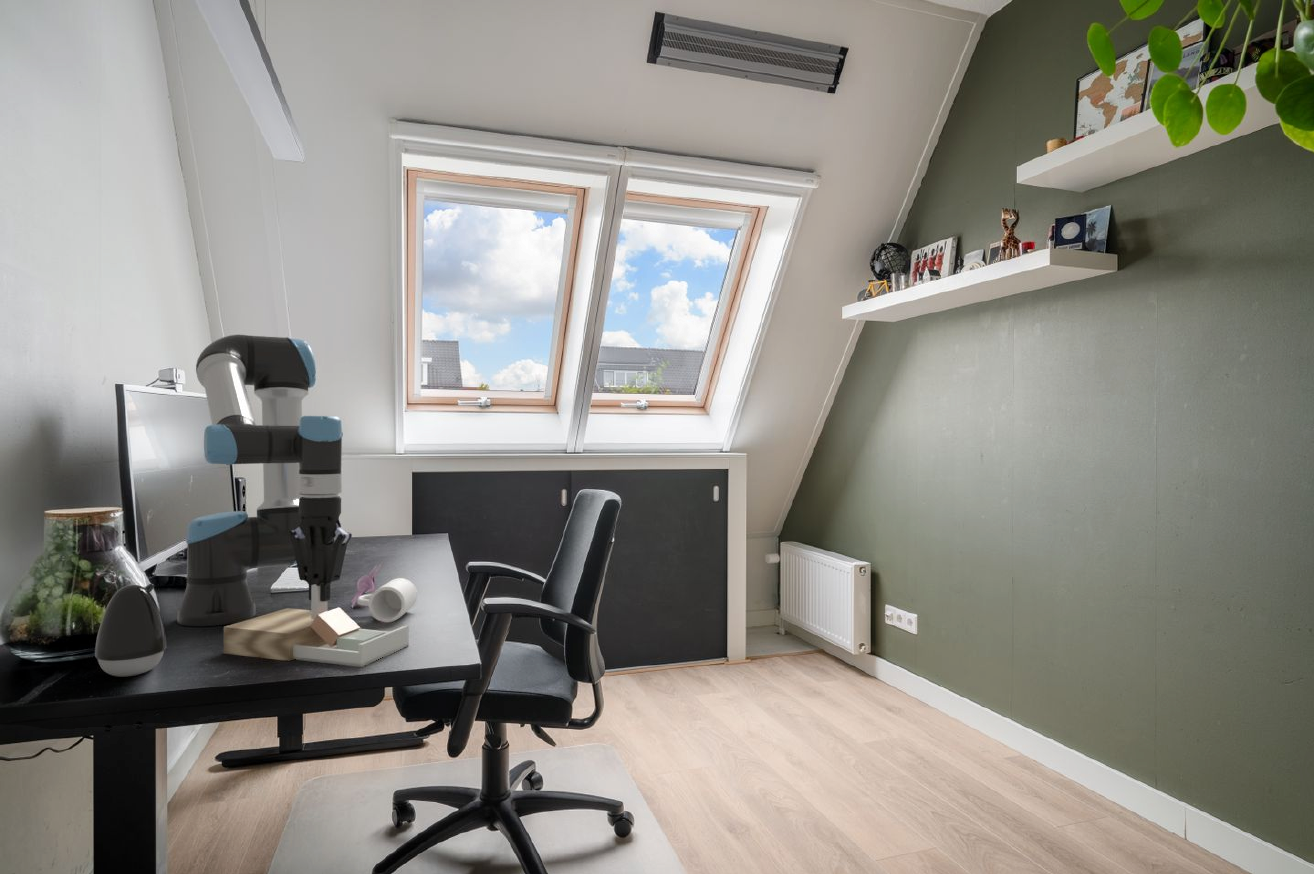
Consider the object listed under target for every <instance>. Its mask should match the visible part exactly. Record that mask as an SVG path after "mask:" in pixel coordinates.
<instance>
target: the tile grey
mask: <svg viewBox="0 0 1314 874" xmlns="http://www.w3.org/2000/svg"><path fill="white" fill-rule="evenodd" d="M383 634H384V632H376V631H365V630H356V631H354V632H351V633H348V634H346V635H343V636H340V637H337V649H341V650H351V651H358V644H361V643H363V642H366V641H368V640H371V639H373V638H376V637H378V636H381V635H383Z"/></svg>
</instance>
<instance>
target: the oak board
mask: <svg viewBox="0 0 1314 874" xmlns="http://www.w3.org/2000/svg"><path fill="white" fill-rule="evenodd" d="M346 614H347V615H348V616H349V614H348V613H346ZM313 621H314V619H311V610H309V609H301V608H299V609H298V608H290V607H288V608H283V609H279V610H277V611H274V612H273V611H272V612H270V613H266V614H263V615H259V616H257V617H252V618H250V619H247V620H244V621H240V622H235V623H231V624H230V625H229V624H228V625H226V626H224V627H223V654H224V655H225V654H226V655H232V656H233V655H235V656H244V657H250V658H251V657H252V658H253V657H254V658H259V657H260V658H261V659H269V660H270V659H271V660H277V661H286V660H287V661H288V662H289V661H293V660H294V659H293V646H294V645H304V646H313V647H320V646H322V645H325V644H327V643H326V642H325V641H324V640H323V639H322V638H321V637H320V636H319V635H318V634H317V633H316V632H315V631H314V630H313V629H312V628H311V627H310V625H311V624H312V622H313ZM260 658H259V659H260Z"/></svg>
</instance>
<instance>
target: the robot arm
mask: <svg viewBox="0 0 1314 874" xmlns="http://www.w3.org/2000/svg"><path fill="white" fill-rule="evenodd" d="M315 361H316V360H315V355H314V354H313V349H312V347H311V346H310V344H309V343H308V342H307V341H305V340H304V339H298V338H290V337H287V336H286V337H281V336H280V337H279V336H277V337H276V336H265V335H263V336H262V335H261V336H259V335H246V334H232V335H226V336H223V337H221V338H218V339H216V340H214V341H213V342H211V343H210V344H209V345H208V346H206V347H205V348H204V349H203V350H202V351H201V353H200V355H199V356H198V358H197V360H196V364H195V372H196V377H197V380H198V382H199V384H201V386H202V387H203V388H204V389H205V395H206V401H207V405H208V409H209V414H210V416H209V417H210V419H211V424H210V425H208V426H206V427H205V429H204V433H203V434H204V435H203V450H204V451H203V453H204V454H203V455H204V459H205V461H206V463H209V464H212V465H215V464H216V465H227V466H232V465H247V464H248V465H249V464H262V465H263V466H262V471H263V480H262V481H263V502H262V503H261V504H260V505H259V506H258V507H257V508H256V516H249V514H248V512H246V510H245V511H244V510H237V511H226V512H225V511H224V512H218V513H214V514H208V515H205V516H204V515H203V516H200V517H196V518H194V519H192V520H191V521H190V522H189V523H188V525H187V533H186V534H187V535H186V537H187V538H186V540H185V543H186V545H187V548H186V549H187V552H186V554H187V556H186V559H187V560H186V566H187V567H186V588H185V591H184V594H183V597H182V601H181V604H180V608H178V611H177V615H176V616H177V620H176V621H177V624H179V625H182V626H186V627H187V626H188V627H215V626H222V625H229V624H230V625H231V624H235V623H239V622H242V621H246V620H249V619H252V618H255V616H256V608H257V607H256V603H255V601H253V596H252V592H251V589H250V587H249V583H248V569H261V568H272V567H283V566H289V567H291V566H294V565H296V567H297V573H298V577H299V580H300V581H304V582H305V583H307V585H308V601H310V602H311V603H310V605H311V607H310V608H311V619H315V618H316V616H317V615H318V614H320V613H323V612H326V611H328V601H330V599H331V584H332V583H334V582H336V581H340V578H341V575H342V569H343V565H344V560H345V556H346V553H347V548H348V547H347V546H348V543H349V542H350V541H351V538H352V537H353V536H352V535H353V534H352V533H351V532H350V531H349V532H347V531H345V530H344V529H342V524H341V522H340V516H341V514H342V497H341V496H339V495H340V494H341V493H342V491H343V489H342V452H343V451H342V448H343V443H342V442H343V439H342V438H343V431H342V430H343V429H342V419H341V418H340V417H339V416H336V415H335V416H334V415H304V416H303V404H302V401H303V400H304V399H305V397H307V396H308V395H309V389H310V388H312V387H314V386H315V383H316V379H317V376H316V373H317V370H316V369H317V368H316V362H315ZM246 386H253V387H254V389H253V390H254V391H253V392H254V394H255V396H256V397H257V398H259V399H260V401H261V423H262V425H261V424H260V425H259V424H258V425H257V424H256V419H255V417H254V413H253V410H252V406H251V405H252V404H251V403H250V399H249V395H248V392H247V388H246Z"/></svg>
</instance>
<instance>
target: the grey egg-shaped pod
mask: <svg viewBox="0 0 1314 874" xmlns="http://www.w3.org/2000/svg"><path fill="white" fill-rule="evenodd" d="M153 589H155V585H154V584H153V583H149V584H148V585H146V586H145V587H144V586H142V585H139V584H129V585H126V586H123V587H121V588H119V589H118V590H117V591H115V593H114V594H113V596H112V597H111V599H110V600H109V602H108V604H107V606H106V607H105V610H104V614H103V617H102V619H101V622H100V624H99V629H98V631H97V636H96V642H95V648H94V649H95V650H94V656H95V658H96V659H97V662H98V664H99V666H100V668H101V669H102V670H103V672H105V673H106V674H108V675H111V676H113V677H120V678H124V677H125V678H126V677H133V676H138V675H141V674H145V673H148V672H149V671H151V670H152V669H154V668H155V667H156V666H157V665H158V664H160V661H161V660H162V657H163V655H164V652H165V650H166V648H167V638H166V637H167V636H166V630H165V625H164V621H163V618H162V615H161V611H160V609H159V607H158V604H157V601H156V600H155V598H154V596H153V594H152V593H151V592H152V591H153Z"/></svg>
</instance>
